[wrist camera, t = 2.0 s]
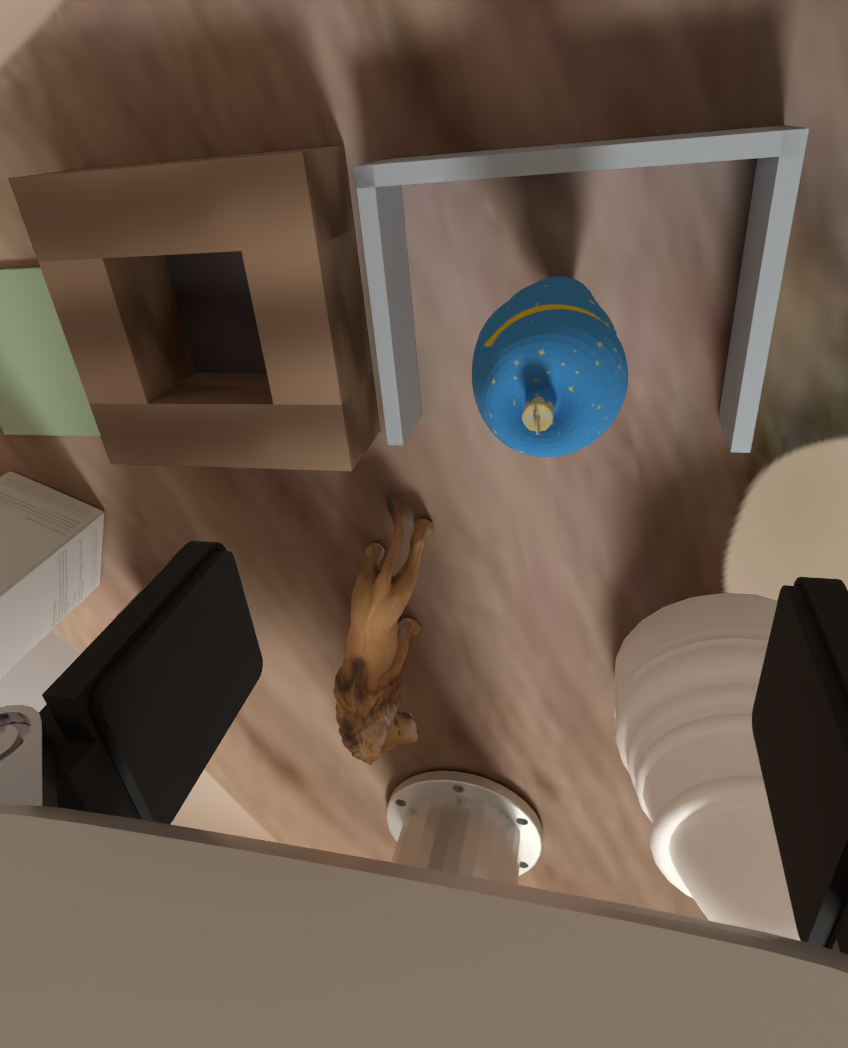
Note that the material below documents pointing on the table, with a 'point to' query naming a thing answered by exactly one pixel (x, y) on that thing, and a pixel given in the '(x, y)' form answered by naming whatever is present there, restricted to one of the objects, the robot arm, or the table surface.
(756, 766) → the honey pot
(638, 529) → the table surface
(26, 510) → the supplement box
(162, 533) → the table surface
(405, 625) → the lion figurine
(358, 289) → the hole deck
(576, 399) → the ornament
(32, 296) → the mat
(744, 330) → the grey arch frame
